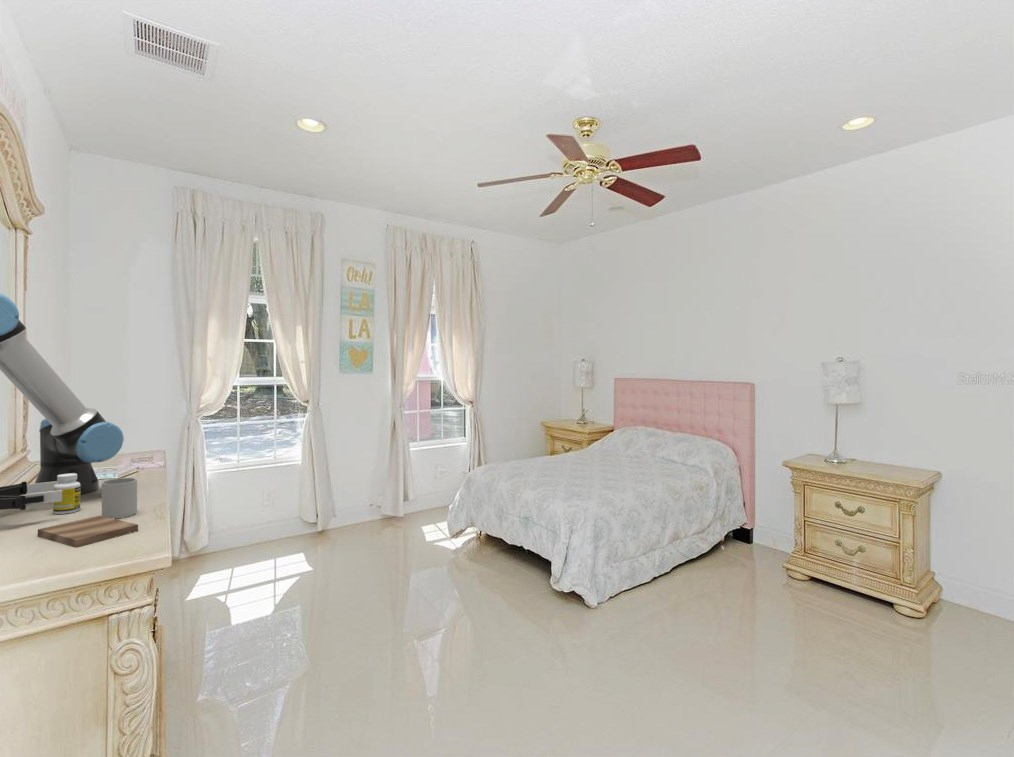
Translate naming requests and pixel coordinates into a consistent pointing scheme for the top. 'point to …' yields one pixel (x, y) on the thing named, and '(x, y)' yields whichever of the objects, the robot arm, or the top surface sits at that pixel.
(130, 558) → the top surface
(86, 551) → the top surface
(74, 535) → the walnut board
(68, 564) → the top surface
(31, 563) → the top surface
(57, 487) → the supplement bottle
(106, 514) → the cup
